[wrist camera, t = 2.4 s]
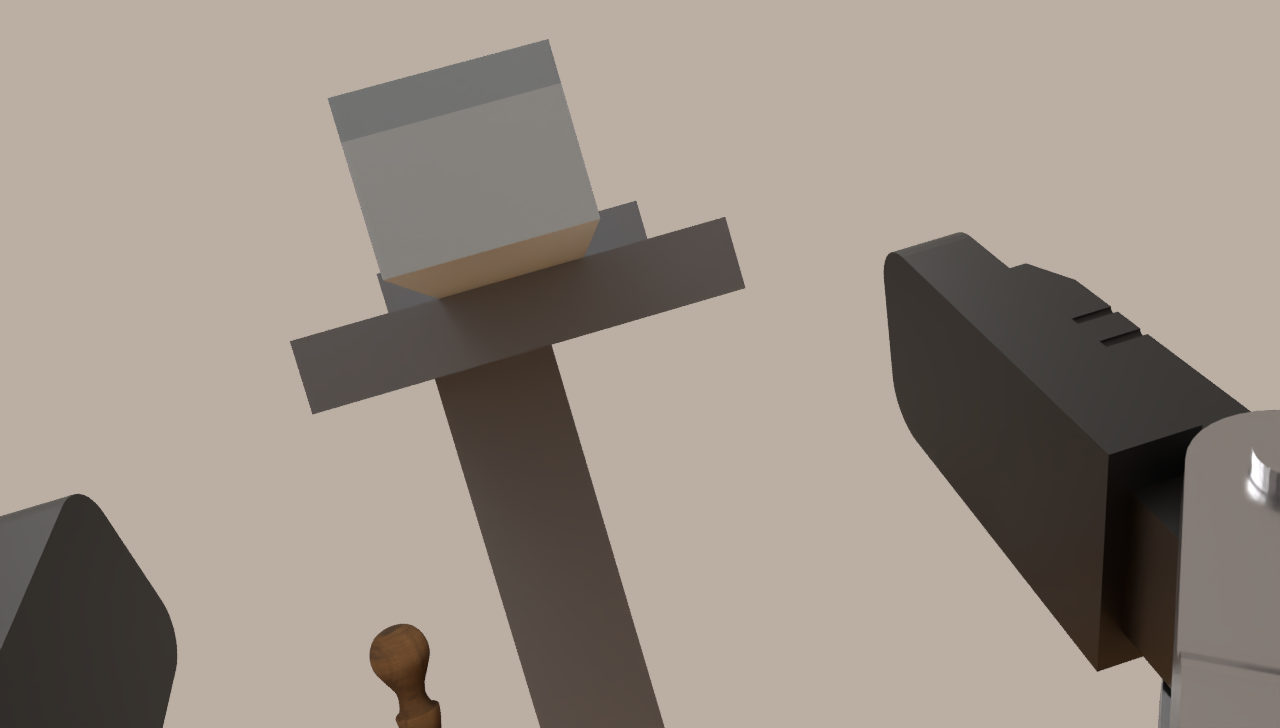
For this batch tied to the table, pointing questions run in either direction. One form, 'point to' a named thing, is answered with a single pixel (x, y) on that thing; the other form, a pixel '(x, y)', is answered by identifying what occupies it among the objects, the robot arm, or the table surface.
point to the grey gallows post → (535, 439)
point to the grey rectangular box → (469, 172)
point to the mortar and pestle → (406, 674)
